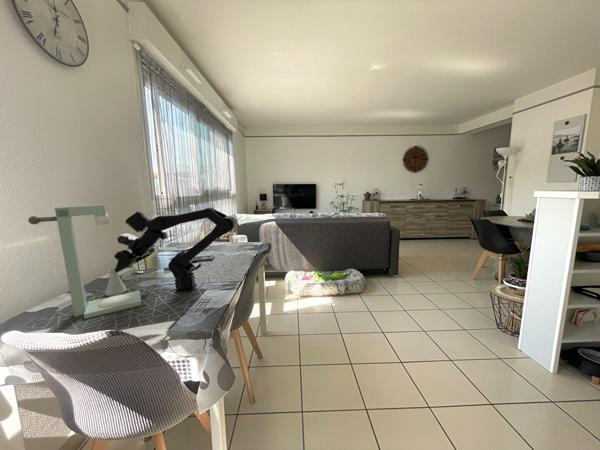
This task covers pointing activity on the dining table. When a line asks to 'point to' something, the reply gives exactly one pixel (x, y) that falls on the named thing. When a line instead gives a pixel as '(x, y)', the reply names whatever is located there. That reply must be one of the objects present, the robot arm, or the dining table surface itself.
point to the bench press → (73, 263)
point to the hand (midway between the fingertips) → (123, 268)
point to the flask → (114, 284)
